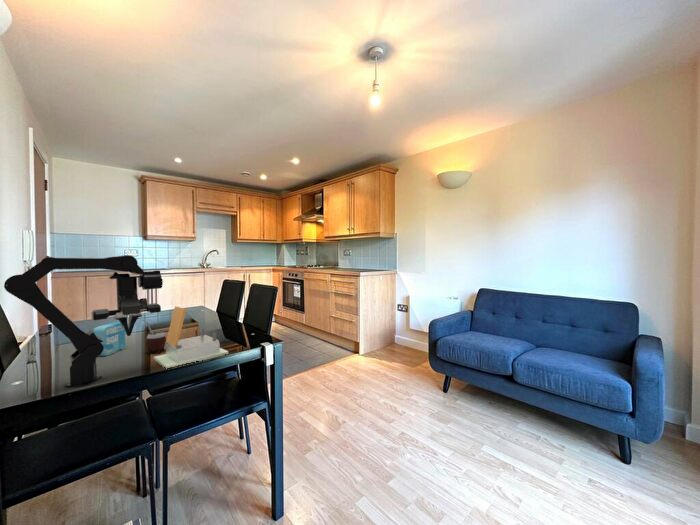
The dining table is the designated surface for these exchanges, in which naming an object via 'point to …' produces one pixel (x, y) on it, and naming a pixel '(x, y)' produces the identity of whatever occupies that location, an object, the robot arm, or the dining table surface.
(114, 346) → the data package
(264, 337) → the dining table surface
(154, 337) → the mate gourd
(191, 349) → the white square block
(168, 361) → the board
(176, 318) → the thin wooden panel
